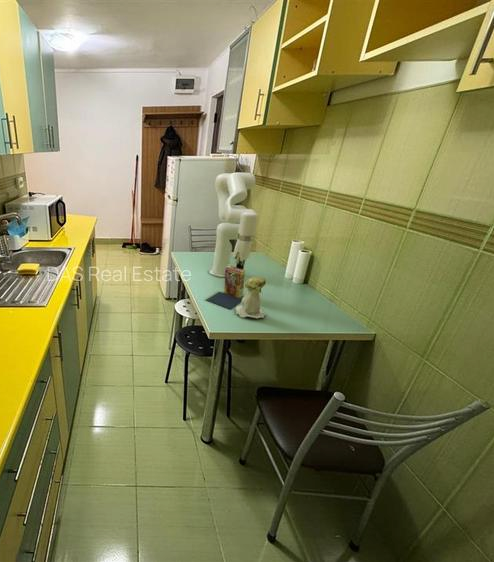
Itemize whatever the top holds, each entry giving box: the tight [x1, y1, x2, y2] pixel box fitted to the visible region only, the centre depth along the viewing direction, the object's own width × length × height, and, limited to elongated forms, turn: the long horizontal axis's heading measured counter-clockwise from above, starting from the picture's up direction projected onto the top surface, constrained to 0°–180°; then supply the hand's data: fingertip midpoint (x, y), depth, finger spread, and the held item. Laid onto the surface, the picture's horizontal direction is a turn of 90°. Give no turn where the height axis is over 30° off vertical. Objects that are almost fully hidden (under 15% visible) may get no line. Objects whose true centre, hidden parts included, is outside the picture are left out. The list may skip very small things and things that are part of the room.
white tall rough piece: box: [235, 276, 267, 319], centre depth 138 cm, size 12×13×18 cm
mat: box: [206, 291, 243, 310], centre depth 154 cm, size 14×13×1 cm
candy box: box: [223, 265, 246, 299], centre depth 157 cm, size 9×4×15 cm, turn 39°
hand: (238, 272), depth 156 cm, fingers closed
